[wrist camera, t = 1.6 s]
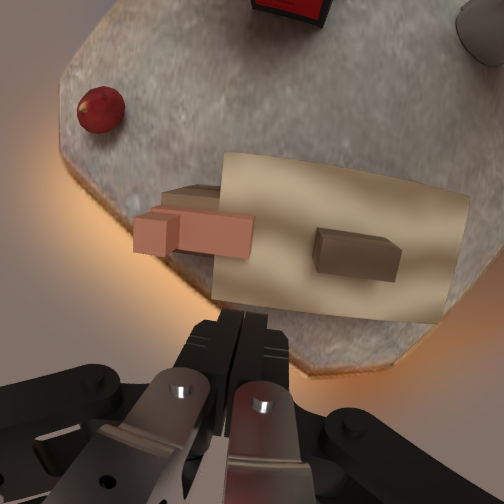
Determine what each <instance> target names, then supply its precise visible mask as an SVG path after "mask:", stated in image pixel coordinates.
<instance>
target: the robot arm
mask: <svg viewBox="0 0 504 504" xmlns="http://www.w3.org/2000/svg"><path fill="white" fill-rule="evenodd" d="M456 26H457V31H458V34H459V36H460V39H461V41H462V42H463V44H464V46H465V47H466V48H467V50H468V51H469V52H470V53H471V54H472V55H473V56H474V57H475V58H476V59H477V60H479V61H480V62H482V63H484V64H486V65H488V66H497V65H500V64H503V63H504V0H470V1H468V2H467V3H466V4H464V5H463V6H462V12H461V13H460V14H459V15H458V17H457V20H456ZM243 320H244V323H243ZM267 320H268V314H261V313H254V312H246V315H245V319H244V311H239V310H233V309H226V308H222V310H221V312H220V315H219V317H218V320H217V322H216V321H210V320H203V321H202V322H200V323H198V324H197V325H195V326H194V328H193V330H192V332H191V334H190V336H189V337H188V339H187V341H186V344H185V345H184V347H183V349H182V351H181V353H180V354H179V356H178V358H177V360H176V362H175V364H174V366H173V368H169V369H166V370H163V371H161V372H160V373H158V374H157V375H156V376H155V377H154V379H153V380H152V382H151V383H148V384H125V383H120V378H119V376H118V374H117V372H116V371H114V370H113V369H111V368H110V367H108V366H105V365H100V364H87V365H82V366H79V367H75V368H72V369H68V370H64V371H61V372H58V373H54V374H50V375H46V376H42V377H38V378H34V379H31V380H27V381H22V382H18V383H14V384H10V385H6V386H2V387H0V504H3V503H6V502H10V501H14V500H19V499H23V498H26V497H30V496H34V495H37V494H41V493H44V492H48V491H51V490H52V491H51V492H50V494H49V495H47V496H42V497H38V498H35V499H32V500H29V501H25V502H22V503H18V504H189V501H190V498H191V496H192V493H193V491H194V488H195V486H196V483H197V480H198V478H199V475H200V473H201V470H202V467H203V465H204V462H205V460H206V457H207V450H208V448H209V446H210V442H211V439H212V435H215V436H221V434H222V430H223V426H224V422H225V417H226V424H225V433H224V437H228V438H229V444H228V452H227V461H226V471H225V480H224V490H223V501H222V504H504V502H503V501H501V500H499V499H498V498H496V497H494V496H493V495H491V494H489V493H488V492H486V491H484V490H483V489H481V488H479V487H478V486H476V485H475V484H473V483H471V482H470V481H468V480H467V479H465V478H463V477H462V476H460V475H459V474H457V473H456V472H454V471H453V470H451V469H450V468H448V467H446V466H445V465H443V464H442V463H440V462H439V461H437V460H436V459H434V458H433V457H431V456H430V455H428V454H427V453H425V452H424V451H422V450H421V449H420V448H418V447H417V446H415V445H414V444H412V443H411V442H410V441H408V440H407V439H405V438H404V437H402V436H401V435H400V434H398V433H397V432H395V431H394V430H392V429H391V428H390V427H388V426H387V425H386V424H384V423H383V422H381V421H380V420H379V419H377V418H376V417H375V416H373V415H371V414H370V413H368V412H366V411H364V410H361V409H357V408H341V409H337V410H335V411H333V412H331V413H330V414H329V415H328V416H327V417H323V416H320V415H317V414H313V413H311V412H308V411H306V410H304V409H302V408H301V407H299V406H298V405H297V404H296V403H295V402H294V401H293V398H292V396H291V394H290V393H289V360H288V359H289V352H288V350H289V347H288V339H287V337H286V336H285V335H284V333H283V332H282V331H278V330H271V329H267ZM77 424H79V426H80V428H81V429H79V430H76V431H73V432H70V433H67V434H64V435H60V436H57V437H54V438H50V439H47V440H44V441H39V440H35V438H36V437H38V436H41V435H45V434H48V433H51V432H55V431H58V430H61V429H64V428H68V427H71V426H74V425H77Z"/></svg>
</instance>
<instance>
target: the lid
mask: <svg viewBox="0 0 504 504" xmlns="http://www.w3.org/2000/svg"><path fill="white" fill-rule="evenodd" d="M469 204H470V197H469V196H465V195H462V194H458V193H455V192H451V191H447V190H443V189H440V188H436V187H432V186H428V185H424V184H420V183H416V182H411V181H407V180H403V179H398V178H394V177H389V176H384V175H380V174H375V173H370V172H365V171H360V170H354V169H349V168H343V167H338V166H332V165H326V164H320V163H313V162H307V161H300V160H293V159H286V158H278V157H270V156H262V155H253V154H243V153H233V152H225V154H224V163H223V172H222V182H221V191H220V201H219V211H221V212H229V213H237V214H245V215H253V216H255V222H254V230H253V239H252V247H251V253H250V256H249V259H244V258H237V257H230V256H222V255H215V256H214V269H213V282H212V295H211V299H215V300H221V301H228V302H234V303H241V304H248V305H255V306H262V307H269V308H277V309H284V310H292V311H300V312H308V313H317V314H325V315H334V316H344V317H353V318H363V319H374V320H385V321H397V322H410V323H424V324H438V322H439V319H440V316H441V314H442V311H443V308H444V305H445V302H446V298H447V295H448V292H449V289H450V285H451V282H452V278H453V275H454V271H455V268H456V264H457V260H458V256H459V252H460V248H461V244H462V239H463V235H464V230H465V225H466V220H467V215H468V209H469Z"/></svg>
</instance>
